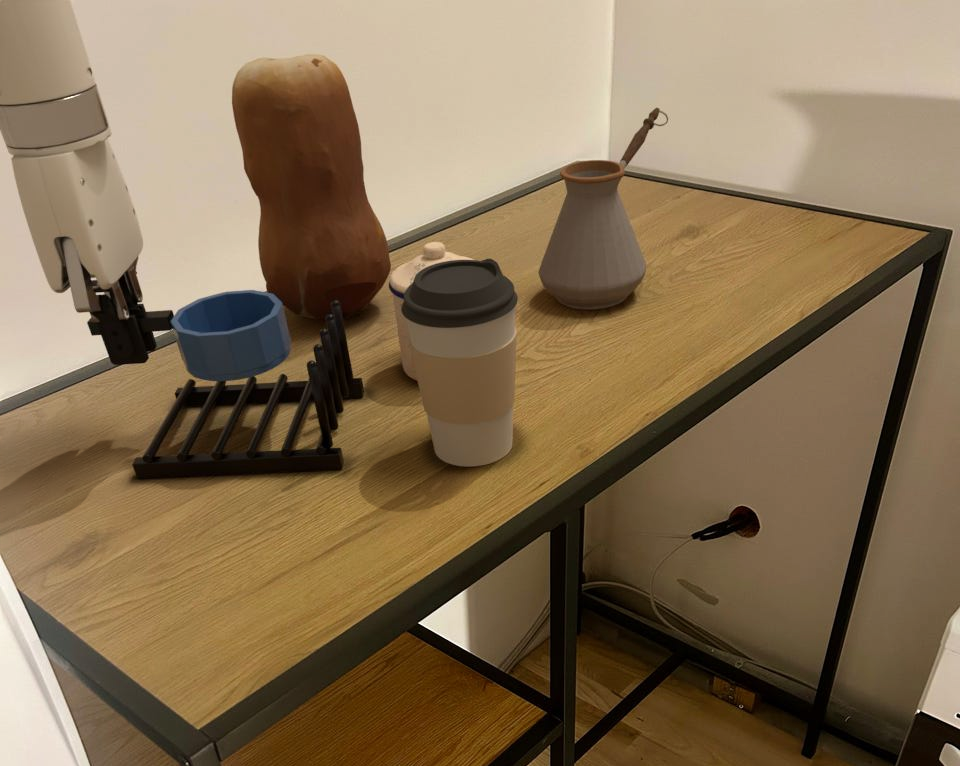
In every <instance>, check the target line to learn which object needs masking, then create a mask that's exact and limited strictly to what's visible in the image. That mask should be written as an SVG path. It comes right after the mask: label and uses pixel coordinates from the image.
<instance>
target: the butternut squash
mask: <svg viewBox="0 0 960 766" xmlns="http://www.w3.org/2000/svg"><path fill="white" fill-rule="evenodd" d="M231 106H232V113H233V119H234V123H235V129H236V132H237V135H238V139H239V143H240V147H241V151H242V161H243V170H244V173H245V175H246V176H247V179H248V181H249V184H250V186H251V189H252V190H253V192H254V194H255V195H256V197H257V200H258V202H259V207H260V216H259V225H258V239H257V242H258V243H257V245H258V259H259V264H260V269H261V273H262V276H263V279H264V281H265V289H266V293H272V294H274V295H275V296H276V297H277V298H278V299H279V300H280V301H281V302H282V304H283V307H285V308H286V309H287V310H288V311H290V312H291V313H293V314H294V315H296V316H300V317H305V318H311V319H315V320H316V319H317V320H318V319H325V318H326V315H328V314H332V315H333V312H332V307H331V302H332V301H333V300H338V301H339V302H340V306H341V312H342V317H343V320H346V319H348V318H350V317H352V316H354V315H356V314H359V313H361V312H362V311H363V310H364V308H366V306H367V305H369V304H370V302H371V301H372V300H373V299H374V298H375V297H376V296H377V294H378V293H379V292H380V290H381V289H382V288H383V287H384V285H385V283H386V282H387V279H388V277H389V275H390V272H391V268H392V264H391V259H390V258H391V257H390V252H389V251H390V250H389V244H388V239H387V237H386V234H385V231H384V229H383V225H382V224H381V222H380V220H379V219H378V216H377V215H376V213H375V212H374V210H373V207H372V206H371V203H370V202H369V199H368V196H367V195H368V194H367V191H366V185H365V180H364V179H365V177H364V172H365V171H364V161H363V152H362V139H361V133H360V126H359V123H358V118H357V114H356V112H355V109H354V105H353V101H352V98H351V93H350V89H349V86H348V83H347V81H346V78H345V76H344V73H342V71H341V69H340V67H339V66H338V64H336V63H335V62H334V61H332V60H331V59H329V58H328V57H326V55H323V54H316V53H315V54H314V53H313V54H303V55H295V56H291V57H283V58H282V57H281V58H271V57H259V58H256V59H252V60H250V61H248V62H246V63H244V65H242V66H241V67H240V69H239V70H238V71H237V72H236V74H235V77H234V79H233V82H232V87H231Z"/></svg>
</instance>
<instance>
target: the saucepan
mask: <svg viewBox="0 0 960 766" xmlns="http://www.w3.org/2000/svg"><path fill="white" fill-rule="evenodd" d="M129 315H135V317H136V320H137V323H138V326H139V329H140V332H153V333H155V332H169V331H172V332H173V335H174V338H175V341H176V345H177V348H178V351H179V354H180V355H179V356H180V358H181V361H182V362H183V364H184V366H185V370H186V371H187V373H188V374H190V375H191V376H192V377H194V378H196V379H199V380H202V381H208V382H217V381H226V382H231V381H239V380H244V379H248V378H249V377H253V376H254V377H256V376H258V375H259V376H260V375H262V374H265V373H266V372H269V371H271V370H273V369H274V368H277V367H278V366H280V365H281V364H282V363H284V361H286V360H287V359H288V357H289V356H290V354H291V352H292V351H291V349H292V348H291V341H292V339H291V335H290V331H289V327H288V326H289V325H288V322H287V317H286V314H285V309H284V306H283V304H282V302H281V301H280V300H279V299H278V298H277V297H276V296H275V295H274V294H272V293H268V292H267V291H266V292H265V291H261V290H255V289H247V290H245V289H244V290H230V291H224V292H220V293H216V294H212V295H208V296H204V297H200V298H198V299H196V300H194V301H192V302H190V303H189V304H186V305H185V306H183V307H181V308H179V309H178V310H177V311H176V312H175V314H174V311H173V310H172V309H166V310H150V311H146V312H134V313H129ZM86 324H87V326H88V329H89V332H90V335H91V336H101V334H100V331H99V328H98V325H97V323H96V322H94V321H93V320H92V318H91V317H90V318H89V319H88V320H87V322H86Z"/></svg>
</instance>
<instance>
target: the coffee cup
mask: <svg viewBox="0 0 960 766" xmlns="http://www.w3.org/2000/svg"><path fill="white" fill-rule="evenodd" d="M517 302H518V303H519V297H518V294H517V293H516V291H515V285H514V283H513V281H512V280H510V278H508V277H507V276H506V275H505V274H503V271H502V270H501V267H500V265H499V263H498V262H497V261H496V260H494V259H493V258H485V259H482V260H476V259H474V260H452V261H446V262H441V263H437V264H434V265H431V266H428V267H426V268H424V269H422V270H421V271H420V272H418V273H417V274H416V276H415V278H414V281H413V283H412V284H411V285H410V286H409V287H408V288H407V289H406V291H405V293H404V302H403V304H402V307H401V311H402V314H403V315H404V316H405V317H406V321H407V325H408V330H409V334H410V336H409V345H410V350H411V354H412V358H413V363H414V367H415V371H416V376H417V380H418V381H417V380H416V381H417V385H418V388H419V393H420V398H421V401H422V406H423V410H424V412H425V413H426V418H427V422H428V426H429V431H430V435H431V440H432V444H433V449H434V454H435V455H436V456H437V457H438V458H439V459H440V460H441V461H442V462H444V463H446V464H450V465H452V466H458V467H467V468H469V467H470V468H472V467H482V466H486V465H490V464H493V463H496V462H497V461H499V460H502V459H503V458H504V457H506V456H507V455H508V454H509V453H510V452H511V450H512V449H513V448H512V447H513V439H514V438H513V437H514V435H513V434H514V432H513V431H514V403H515V399H516V396H515V395H516V372H517V371H516V369H517V367H516V365H517V339H518V338H517V336H518V333H517V332H518V329H517V327H516V318H515V306H516V304H517Z"/></svg>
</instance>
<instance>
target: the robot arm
mask: <svg viewBox="0 0 960 766" xmlns="http://www.w3.org/2000/svg"><path fill="white" fill-rule="evenodd" d="M72 5H73V4H72V2H71V0H0V134H1V136H2V139H3V141H4V144H5V148H6V149H7V152H8V153H9V154H10V155H11V158H10V159H11V160H10V161H11V165H12V171H13V175H14V181H15V184H16V188H17V192H18V197H19V200H20V204H21V207H22V210H23V214H24V218H25V220H26V223H27V226H28V230H29V233H30V236H31V240H32V243H33V245H34V247H35V251H36V253H37V256H38V259H39V262H40V265H41V268H42V271H43V273H44V276H45V278H46V281H47V283H48V285H49V287H50V289H51V290H52V291H53V292H54V293H56V294H63V293H65V292H66V291H68V290H69V289H70V293H71V297H72V303H73V306H74V309H75V311H76V312H77V313H78V314H81V313H82V314H83V313H89V315H90V318H92V320H93V321H94V322H96V323H97V325H98V328H99V331H100V334H101V335H100V336H101V339H102V341H103V344H104V348H105V351H106V352H107V356H108V358H109V361H110V362H111V364H112V365H115V366H124V365H136V364H137V365H138V364H146V363H147V362H148V361H149V358H150V357H149V353H148V352H154V351H155V350H156V349H157V346H158V344H157V341H156V338H155V335H154V332H140V329H139V326H138V323H137V320H136V317H135V315H129V313H134V312H147V310H146V307H145V305H144V303H143V300H144V297H143V292H142V288H141V285H140V282H139V279H138V276H137V274H138V271H137V265H138V261H139V256H140V255H141V253H142V250H143V248H144V239H143V235H142V234H143V233H142V230H141V226H140V223H139V220H138V219H139V218H138V216H137V213H136V209H135V206H134V202H133V201H132V197H131V195H130V192H129V188H128V185H127V183H126V180H125V178H124V175H123V172H122V169H121V167H120V165H119V162H118V160H117V157H116V155H115V152H114V150H113V147H112V144H111V142H110V140H109V138H110V137H111V136H112V129H111V126H110V123H109V120H108V116H107V114H106V111H105V107H104V104H103V101H102V97H101V94H100V91H99V87H98V85H97V82H96V79H95V76H94V72H93V68H92V65H91V63H90V60H89V57H88V53H87V50H86V47H85V44H84V43H85V42H84V41H83V37H82V34H81V30H80V27H79V24H78V21H77V18H76V15H75V11H74V8H73V6H72ZM92 279H93V280H92ZM99 293H100V294H99ZM101 293H103V294H101Z"/></svg>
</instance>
